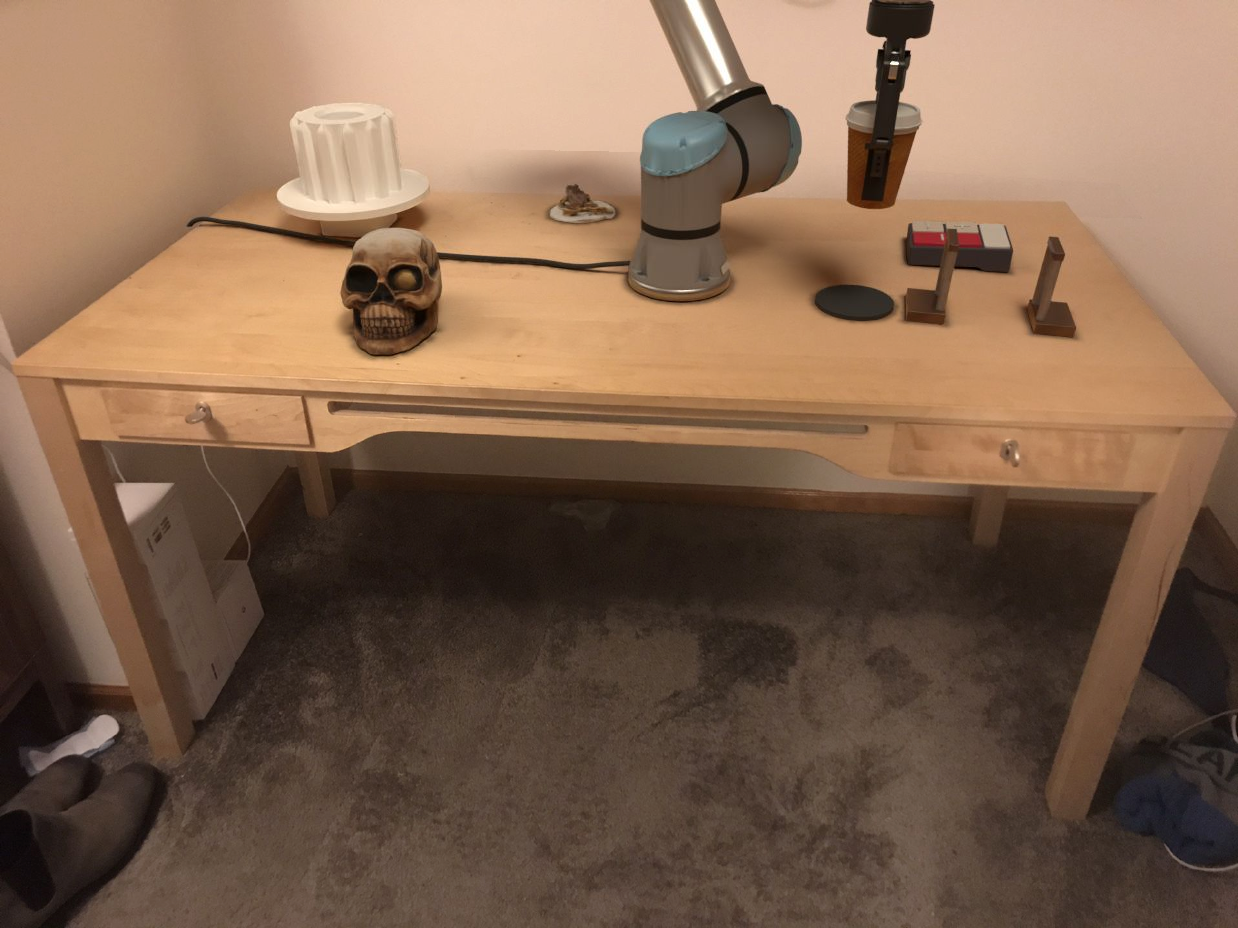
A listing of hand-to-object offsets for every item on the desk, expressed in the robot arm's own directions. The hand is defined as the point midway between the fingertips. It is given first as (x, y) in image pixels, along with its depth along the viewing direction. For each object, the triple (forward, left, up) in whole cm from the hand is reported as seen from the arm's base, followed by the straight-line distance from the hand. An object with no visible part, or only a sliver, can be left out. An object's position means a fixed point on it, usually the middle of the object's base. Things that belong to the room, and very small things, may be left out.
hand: (872, 188), depth 120 cm
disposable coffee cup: (0, 0, -2) cm, 2 cm away
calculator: (+15, +22, -17) cm, 31 cm away
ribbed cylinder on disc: (-84, +12, -17) cm, 87 cm away
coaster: (0, 0, -17) cm, 17 cm away
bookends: (+18, 0, -17) cm, 24 cm away
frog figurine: (-49, +28, -17) cm, 59 cm away
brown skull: (-61, -21, -17) cm, 67 cm away
